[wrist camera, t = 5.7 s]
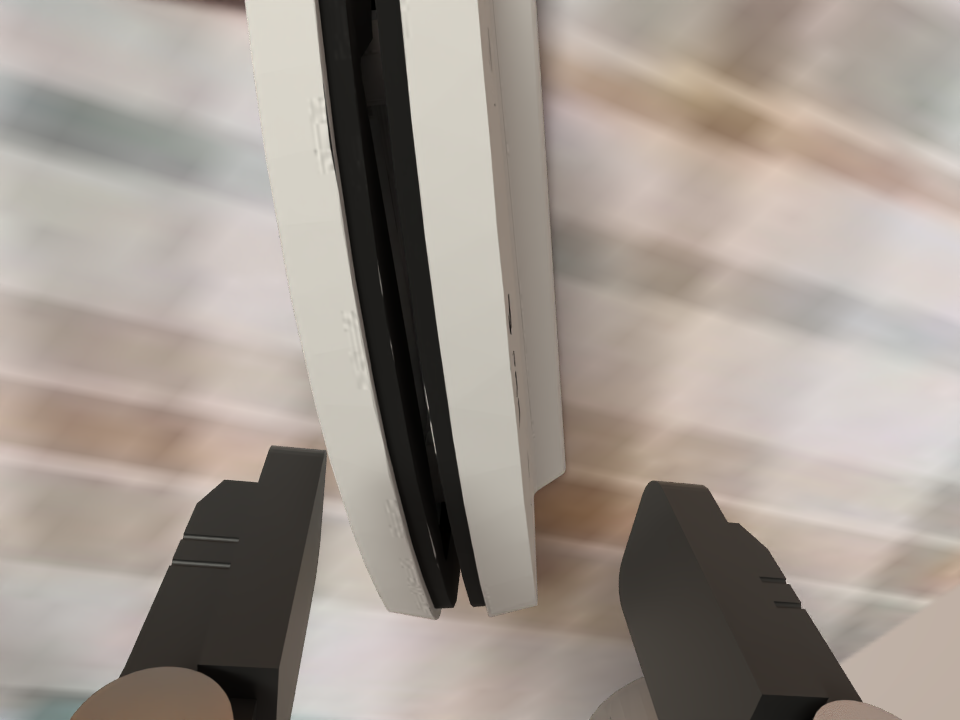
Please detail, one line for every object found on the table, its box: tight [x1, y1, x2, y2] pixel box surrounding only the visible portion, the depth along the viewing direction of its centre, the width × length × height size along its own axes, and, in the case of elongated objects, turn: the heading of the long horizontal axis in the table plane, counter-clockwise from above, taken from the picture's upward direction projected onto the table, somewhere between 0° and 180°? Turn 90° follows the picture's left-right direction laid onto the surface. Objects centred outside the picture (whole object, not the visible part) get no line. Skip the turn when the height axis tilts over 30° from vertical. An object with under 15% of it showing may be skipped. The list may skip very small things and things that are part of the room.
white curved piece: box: [245, 0, 566, 620], centre depth 17 cm, size 17×5×10 cm, turn 6°
